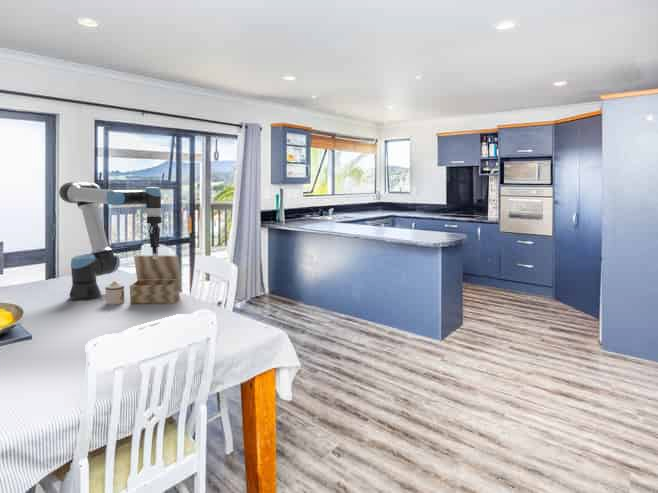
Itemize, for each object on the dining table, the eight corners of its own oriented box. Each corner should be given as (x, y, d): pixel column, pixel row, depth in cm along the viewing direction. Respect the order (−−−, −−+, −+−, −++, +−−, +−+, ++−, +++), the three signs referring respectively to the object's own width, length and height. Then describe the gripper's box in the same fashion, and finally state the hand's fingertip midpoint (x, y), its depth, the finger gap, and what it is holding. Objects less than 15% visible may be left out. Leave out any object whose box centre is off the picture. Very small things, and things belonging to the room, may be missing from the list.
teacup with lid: (124, 304, 225) (123, 282, 224) (105, 305, 222) (103, 283, 220) (125, 298, 236) (124, 278, 235) (107, 300, 233) (106, 279, 231)
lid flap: (133, 256, 233) (134, 255, 233) (137, 279, 238) (137, 279, 239) (177, 256, 235) (177, 255, 236) (179, 279, 241) (180, 278, 242)
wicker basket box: (130, 304, 226) (129, 285, 224) (139, 297, 240) (138, 279, 238) (173, 303, 228) (172, 285, 227) (179, 296, 242) (179, 279, 241)
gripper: (157, 216, 224) (159, 261, 227) (164, 215, 237) (165, 257, 240) (142, 216, 224) (144, 261, 227) (150, 215, 236) (152, 257, 239)
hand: (155, 259), depth 233 cm, fingers closed
